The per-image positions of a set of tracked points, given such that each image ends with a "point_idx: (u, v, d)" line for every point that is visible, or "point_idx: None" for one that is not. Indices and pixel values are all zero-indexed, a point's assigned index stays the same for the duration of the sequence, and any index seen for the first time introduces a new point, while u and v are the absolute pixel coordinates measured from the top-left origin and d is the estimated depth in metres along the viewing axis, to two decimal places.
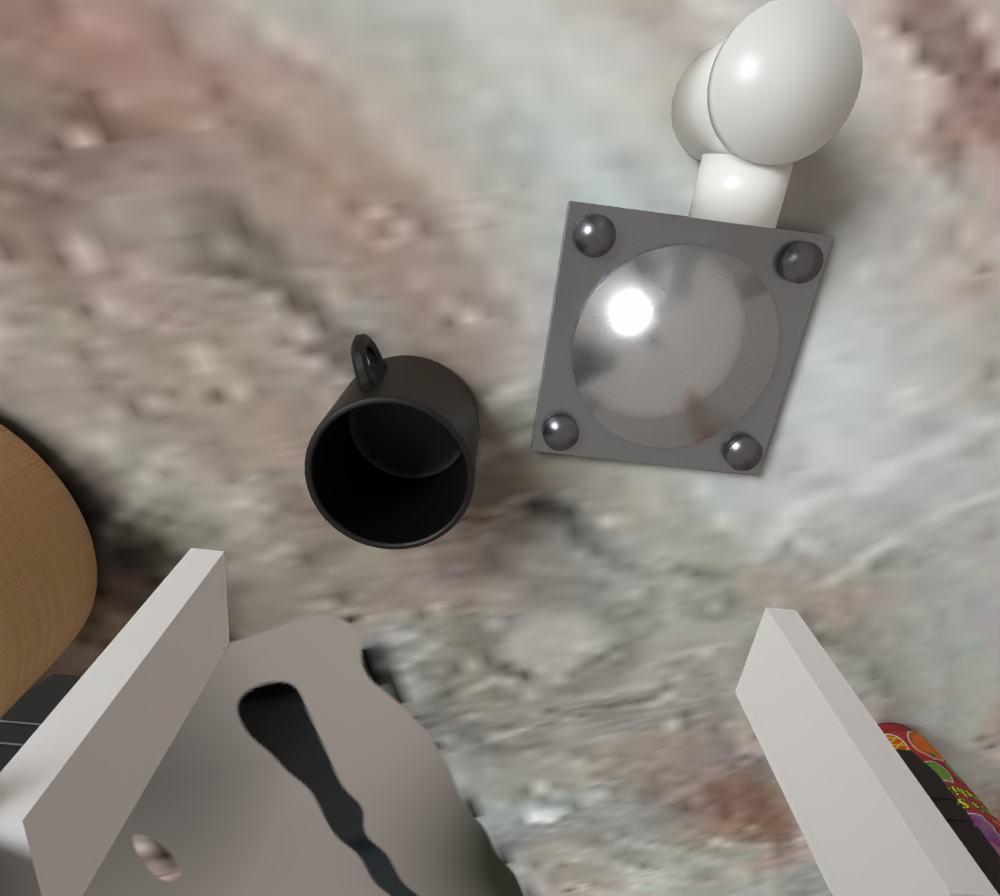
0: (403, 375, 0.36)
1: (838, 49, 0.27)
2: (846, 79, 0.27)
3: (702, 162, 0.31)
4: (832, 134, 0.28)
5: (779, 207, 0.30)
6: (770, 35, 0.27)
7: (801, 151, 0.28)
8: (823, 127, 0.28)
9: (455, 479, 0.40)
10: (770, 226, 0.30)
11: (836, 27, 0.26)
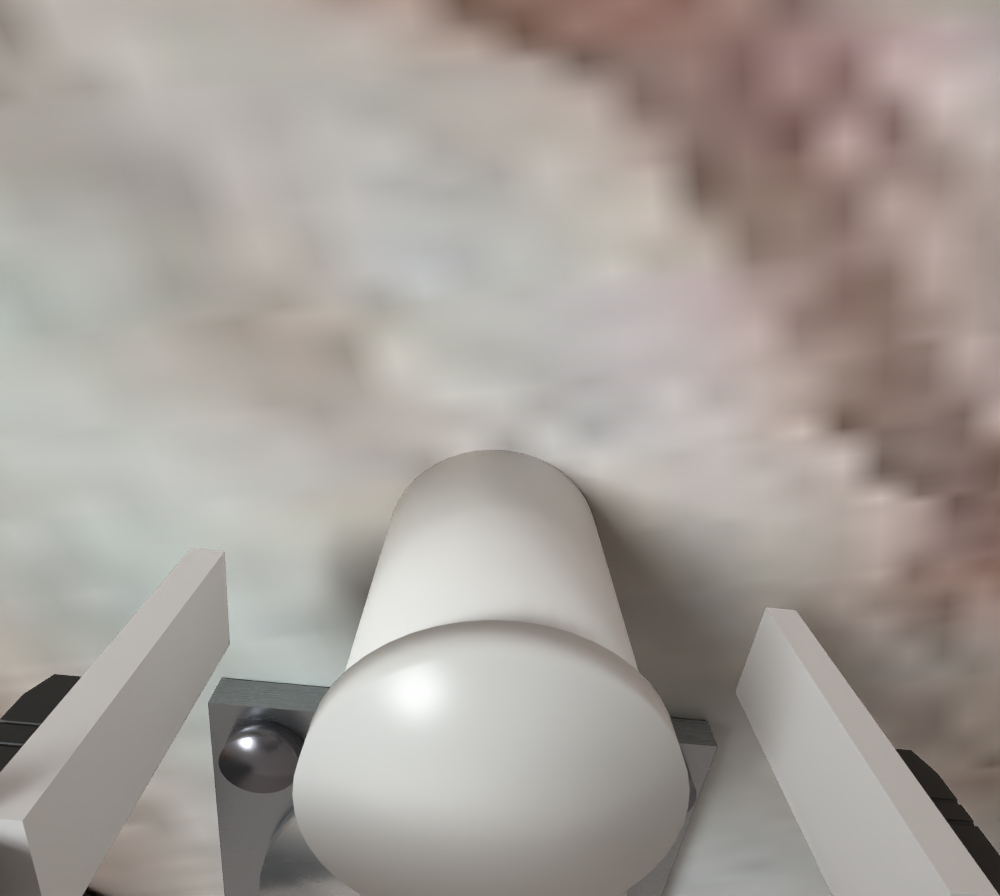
0: None
1: (620, 747, 0.10)
2: (650, 796, 0.10)
3: None
4: (627, 884, 0.11)
5: None
6: (426, 724, 0.10)
7: None
8: (602, 875, 0.11)
9: None
10: None
11: (605, 715, 0.09)
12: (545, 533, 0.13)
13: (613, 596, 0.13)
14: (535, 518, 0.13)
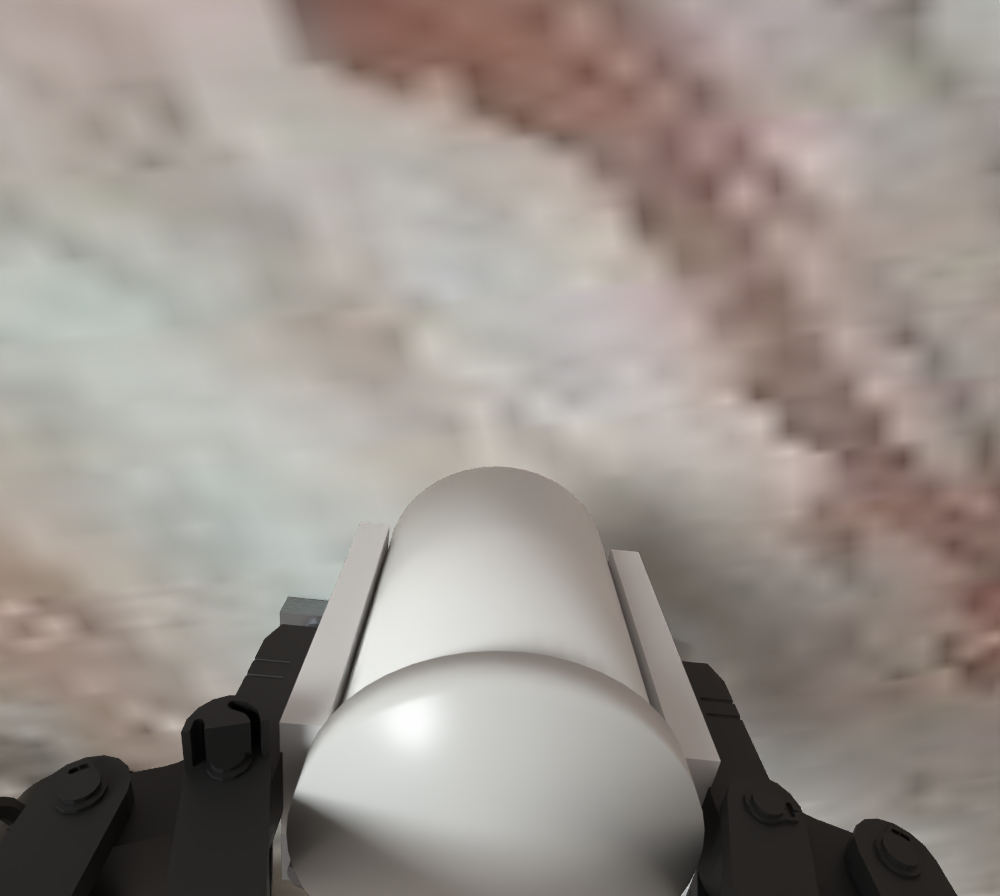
0: None
1: (631, 786, 0.09)
2: (663, 836, 0.10)
3: None
4: None
5: None
6: (427, 761, 0.09)
7: None
8: None
9: None
10: None
11: (617, 753, 0.09)
12: (551, 556, 0.13)
13: (621, 621, 0.13)
14: (540, 539, 0.13)
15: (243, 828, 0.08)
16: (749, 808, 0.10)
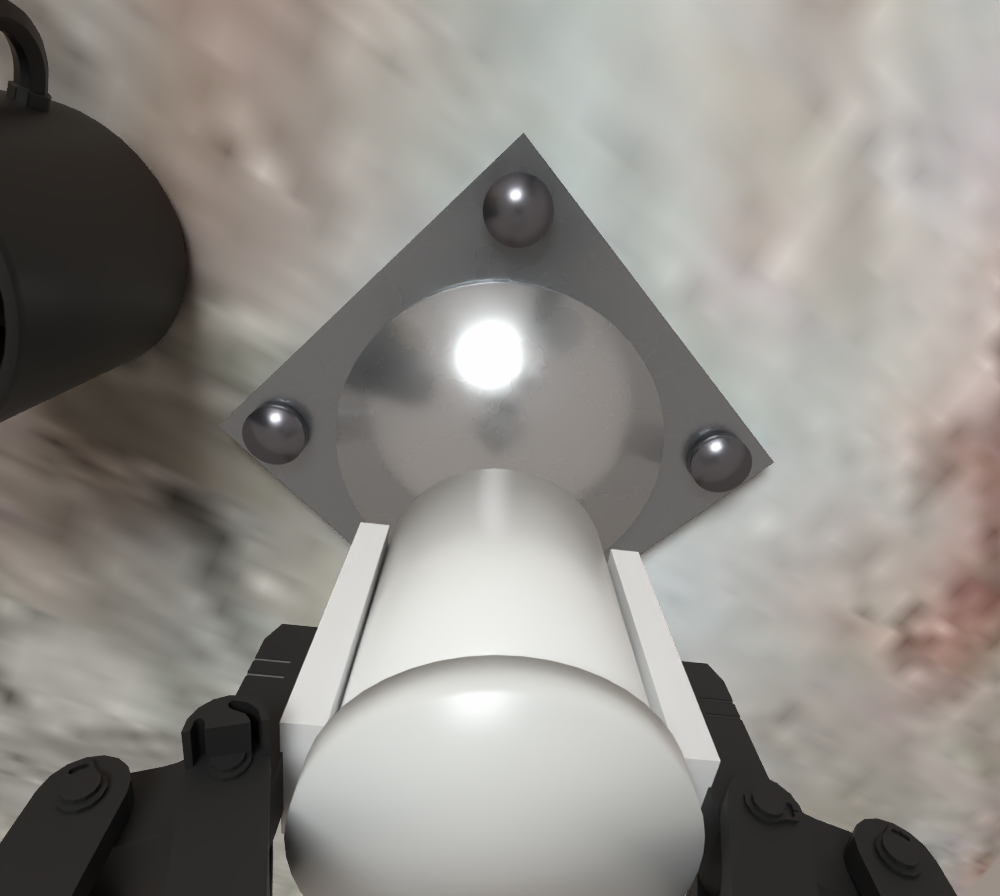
0: (39, 138, 0.17)
1: (632, 790, 0.09)
2: (663, 841, 0.10)
3: None
4: None
5: None
6: (426, 765, 0.09)
7: None
8: None
9: None
10: None
11: (617, 758, 0.09)
12: (551, 558, 0.12)
13: (622, 624, 0.13)
14: (541, 542, 0.13)
15: (243, 828, 0.08)
16: (749, 808, 0.10)
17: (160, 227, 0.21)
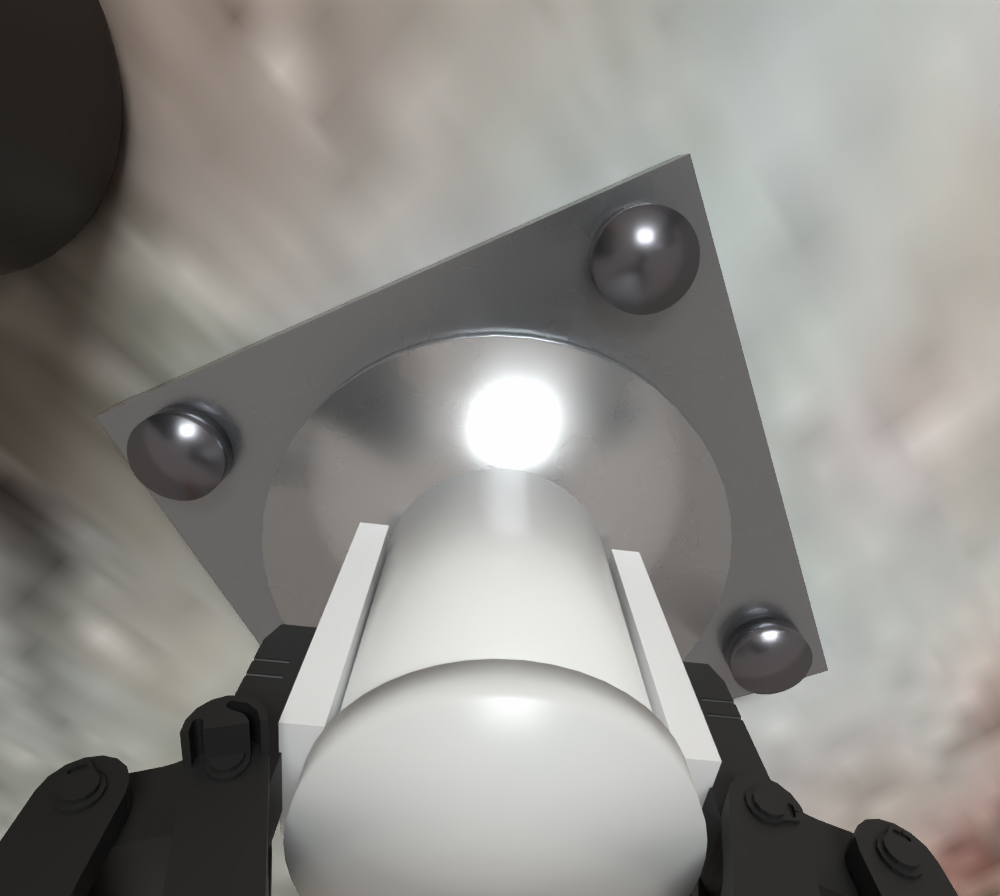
0: None
1: (633, 795, 0.09)
2: (665, 845, 0.10)
3: None
4: None
5: None
6: (426, 770, 0.09)
7: None
8: None
9: None
10: None
11: (618, 763, 0.09)
12: (552, 559, 0.12)
13: (623, 625, 0.12)
14: (541, 543, 0.13)
15: (242, 828, 0.08)
16: (750, 809, 0.10)
17: (83, 91, 0.12)
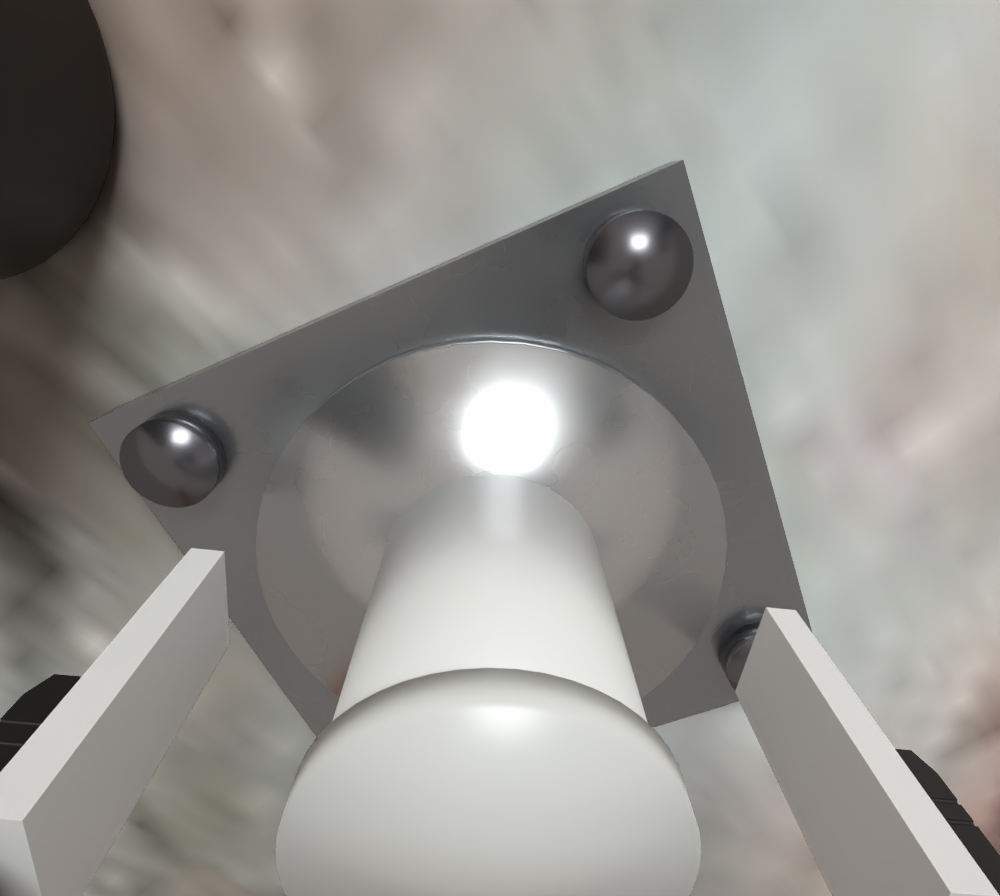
0: None
1: (626, 804, 0.09)
2: (659, 855, 0.10)
3: None
4: None
5: None
6: (418, 780, 0.09)
7: None
8: None
9: None
10: None
11: (611, 773, 0.09)
12: (547, 567, 0.12)
13: (618, 632, 0.12)
14: (535, 550, 0.13)
15: None
16: None
17: (75, 98, 0.12)
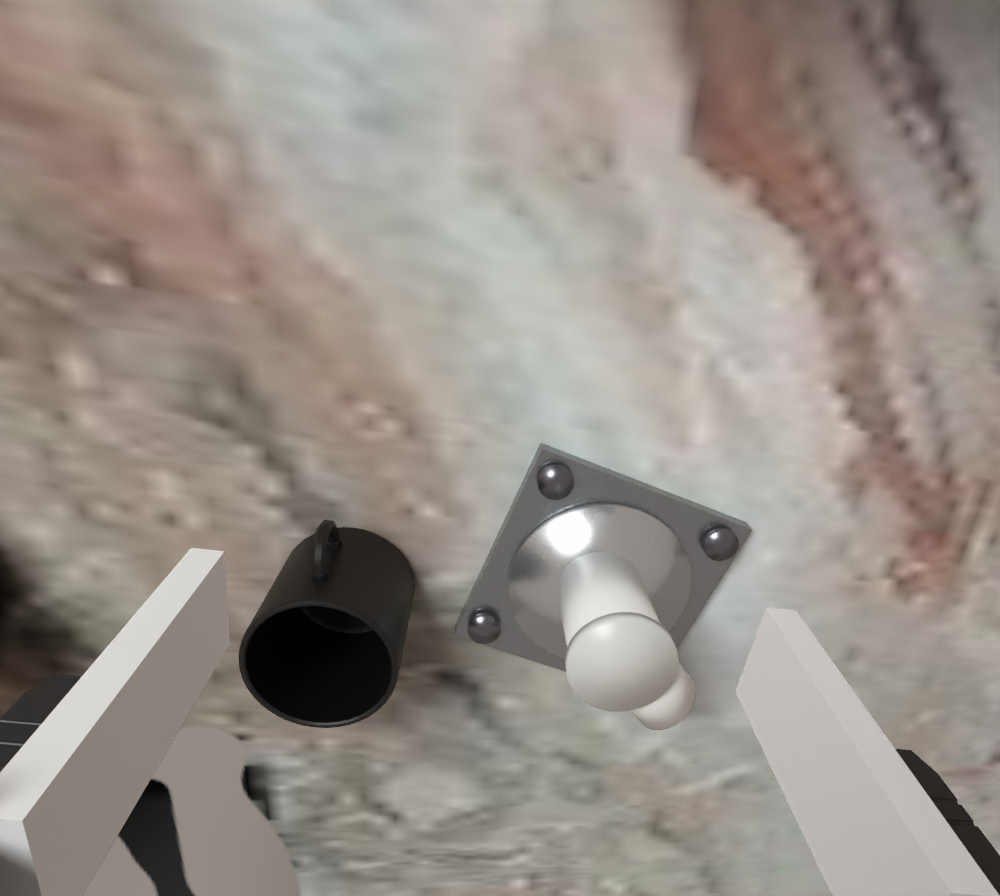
0: (355, 567, 0.38)
1: (635, 632, 0.35)
2: (656, 638, 0.35)
3: None
4: (677, 663, 0.36)
5: (685, 692, 0.38)
6: (588, 658, 0.36)
7: (667, 681, 0.36)
8: (667, 665, 0.36)
9: (378, 653, 0.43)
10: (690, 707, 0.38)
11: (622, 629, 0.35)
12: (594, 586, 0.39)
13: (626, 588, 0.38)
14: (590, 583, 0.39)
15: None
16: None
17: (398, 563, 0.42)
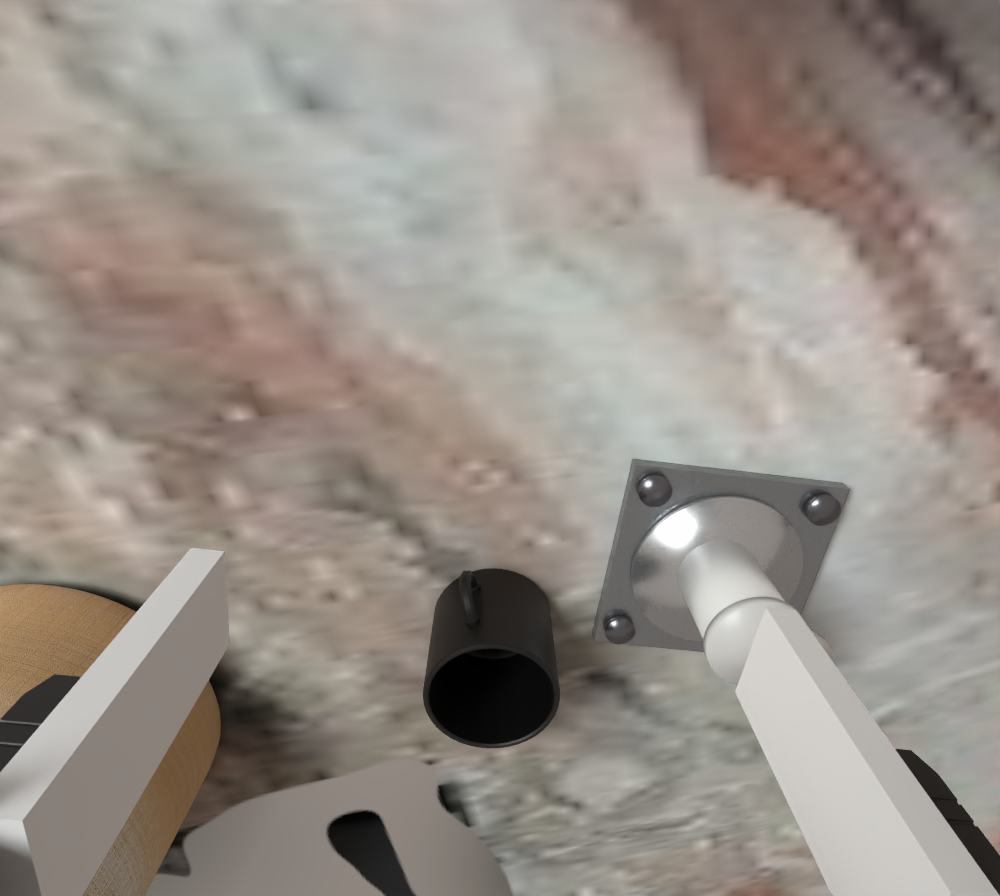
0: (499, 605, 0.44)
1: (762, 614, 0.38)
2: None
3: None
4: None
5: None
6: (725, 645, 0.39)
7: None
8: None
9: (533, 672, 0.48)
10: None
11: (750, 614, 0.38)
12: (713, 577, 0.42)
13: (744, 573, 0.42)
14: (708, 574, 0.43)
15: None
16: None
17: (531, 591, 0.47)
